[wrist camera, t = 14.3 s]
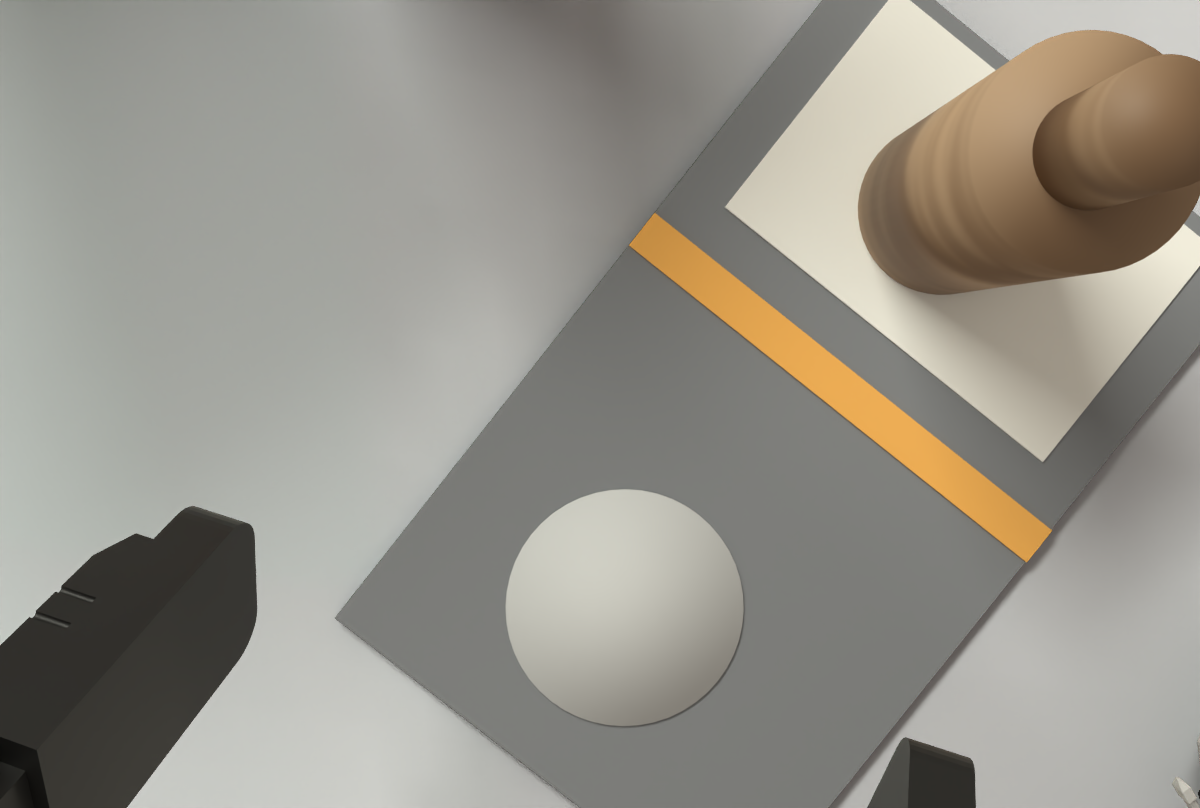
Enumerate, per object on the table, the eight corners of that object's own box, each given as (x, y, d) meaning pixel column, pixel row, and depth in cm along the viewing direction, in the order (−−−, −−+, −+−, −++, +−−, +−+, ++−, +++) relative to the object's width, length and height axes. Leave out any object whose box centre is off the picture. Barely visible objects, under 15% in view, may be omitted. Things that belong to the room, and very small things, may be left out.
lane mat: (337, 615, 32) (333, 619, 31) (862, -51, 32) (867, -58, 31) (731, 919, 32) (733, 928, 32) (1252, 268, 32) (1263, 266, 32)
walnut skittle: (822, 221, 31) (974, 141, 19) (932, 86, 31) (1153, -78, 19) (953, 329, 32) (1183, 318, 20) (1063, 196, 31) (1362, 101, 19)
